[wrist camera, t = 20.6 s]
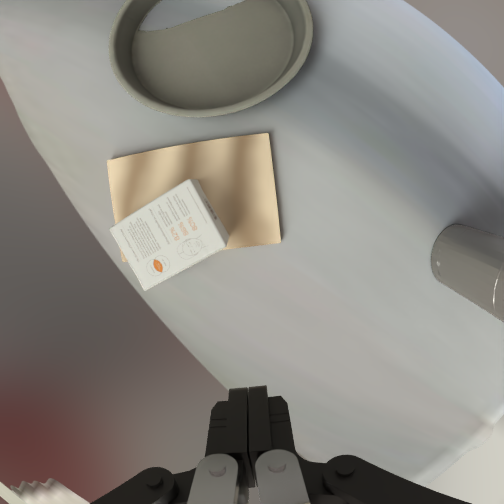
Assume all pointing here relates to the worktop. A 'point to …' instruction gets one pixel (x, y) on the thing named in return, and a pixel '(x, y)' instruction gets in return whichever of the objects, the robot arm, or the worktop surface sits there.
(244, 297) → the worktop surface
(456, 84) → the worktop surface
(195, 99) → the cake pan
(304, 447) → the worktop surface
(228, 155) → the maple board
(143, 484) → the robot arm
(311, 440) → the worktop surface
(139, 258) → the small box
